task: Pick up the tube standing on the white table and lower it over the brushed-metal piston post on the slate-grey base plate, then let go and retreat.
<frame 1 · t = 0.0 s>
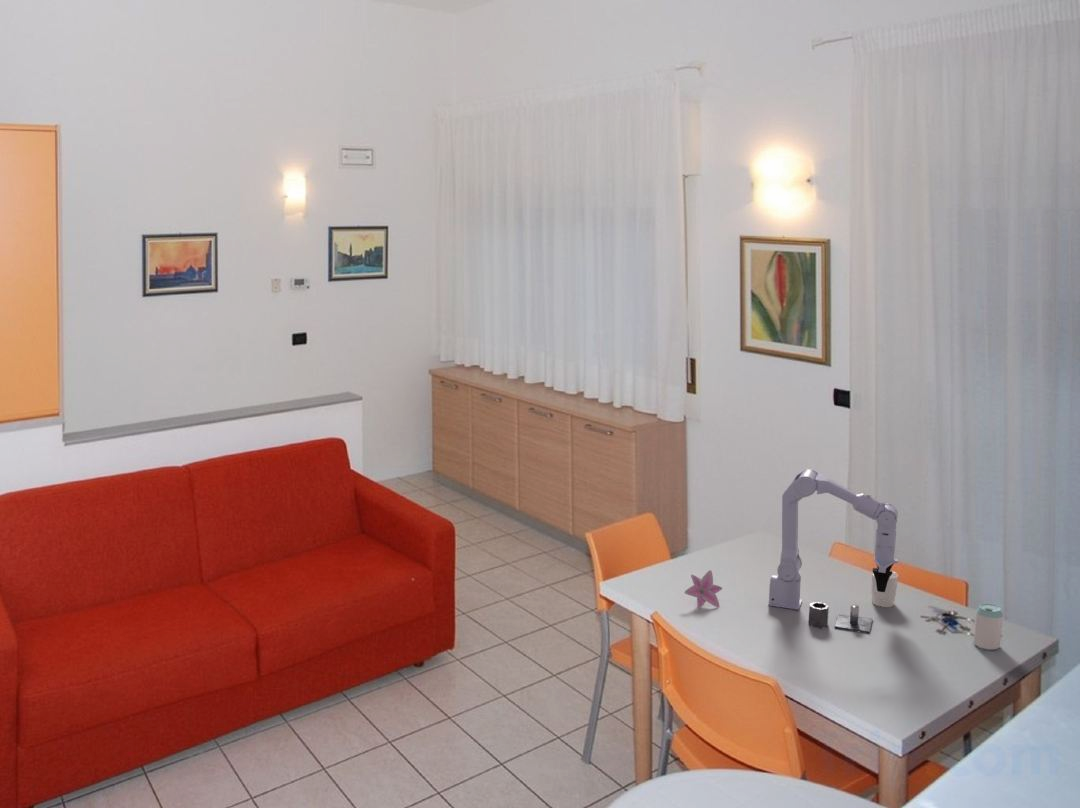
hand: (882, 586, 309), 10 cm above the table, tool pointing down, fingers open, 7 cm apart
white cup: (882, 603, 322), on the table
lily: (703, 604, 322), on the table
post: (853, 624, 306), on the table
can: (986, 646, 292), on the table
tube: (818, 624, 306), on the table
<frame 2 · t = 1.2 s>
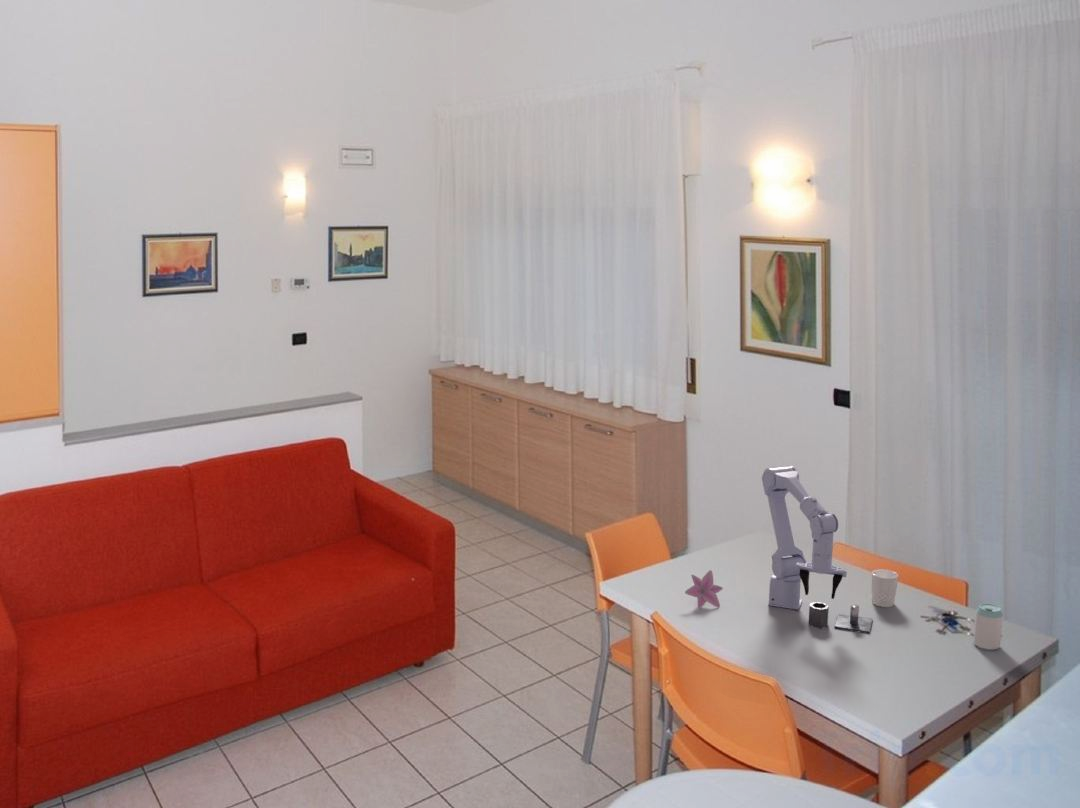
hand: (819, 595, 304), 9 cm above the table, tool pointing down, fingers open, 7 cm apart
nothing on the table moved.
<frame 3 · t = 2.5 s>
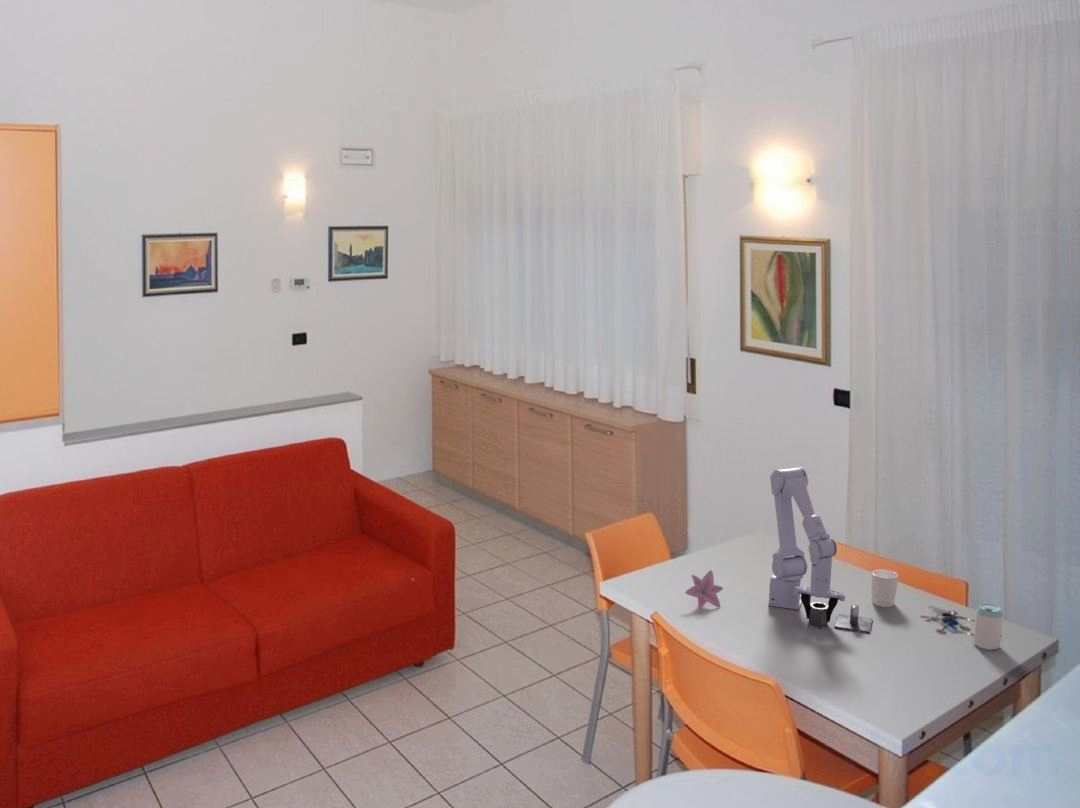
hand: (818, 619, 306), 2 cm above the table, tool pointing down, fingers closed on tube, 5 cm apart
tube: (818, 624, 306), on the table, touching gripper
everything else where it was.
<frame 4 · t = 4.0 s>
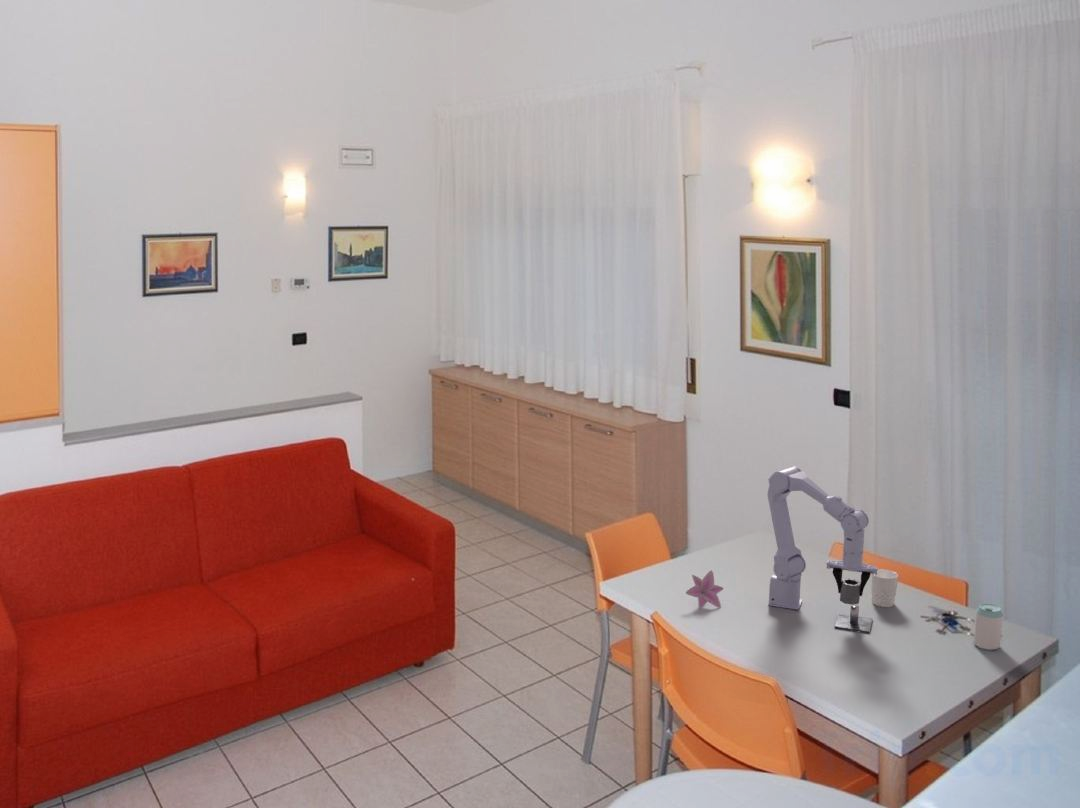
hand: (850, 593, 304), 10 cm above the table, tool pointing down, fingers closed on tube, 5 cm apart
tube: (849, 600, 304), point 8 cm above the table, touching gripper
everything else where it was.
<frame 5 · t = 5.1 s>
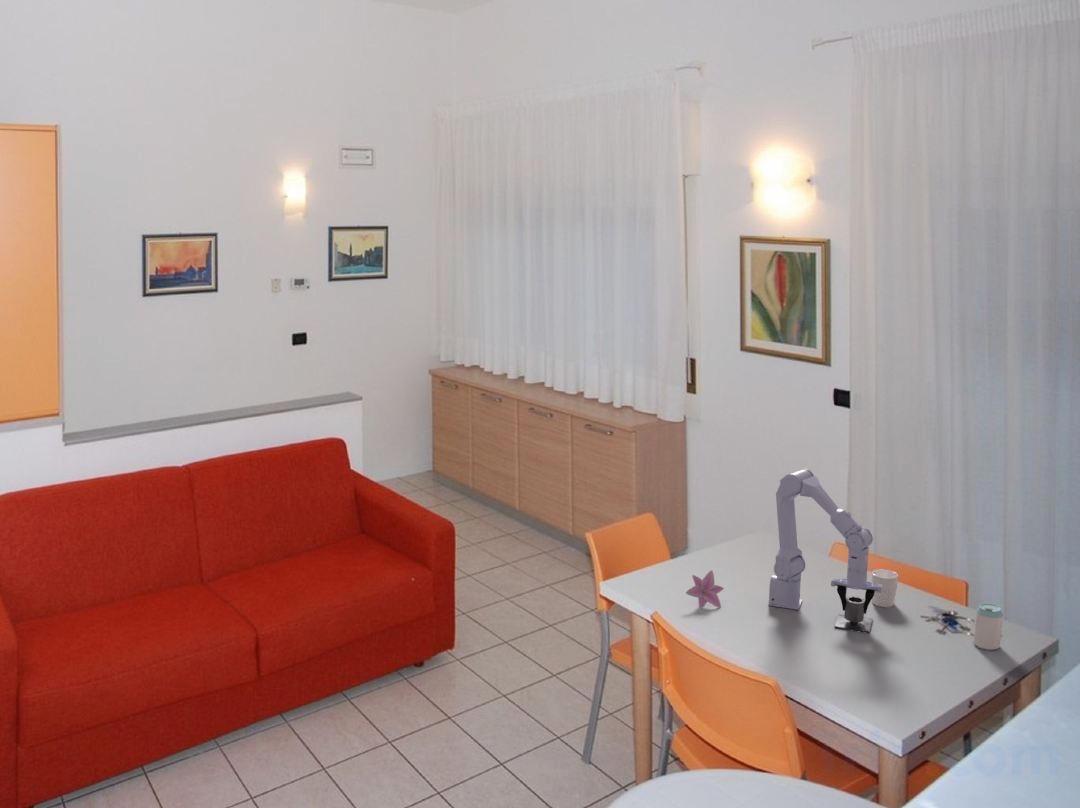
hand: (854, 610, 305), 4 cm above the table, tool pointing down, fingers closed on tube, 5 cm apart
tube: (853, 618, 306), point 2 cm above the table, touching gripper
everything else where it was.
when the fingers open (3 cm above the table, at t = 5.9 s): tube stays where it is, resting on post.
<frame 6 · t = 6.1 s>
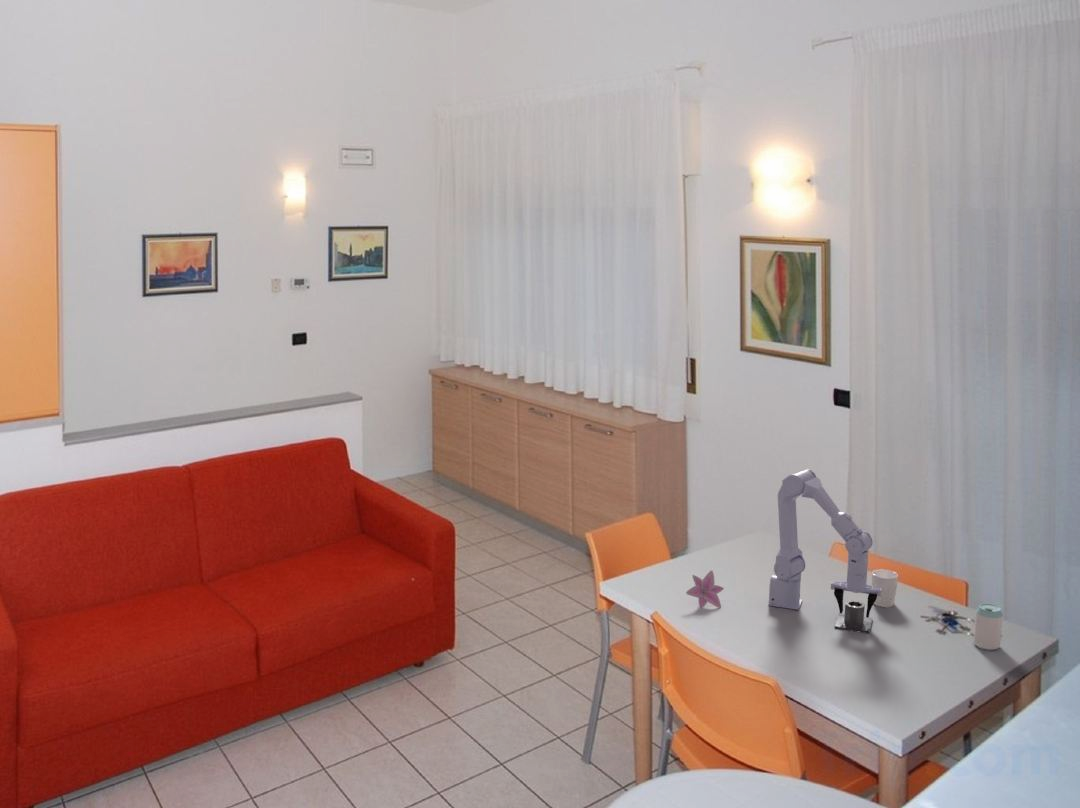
hand: (854, 614, 306), 3 cm above the table, tool pointing down, fingers open, 7 cm apart
tube: (853, 622, 306), point 1 cm above the table, touching post
everything else where it was.
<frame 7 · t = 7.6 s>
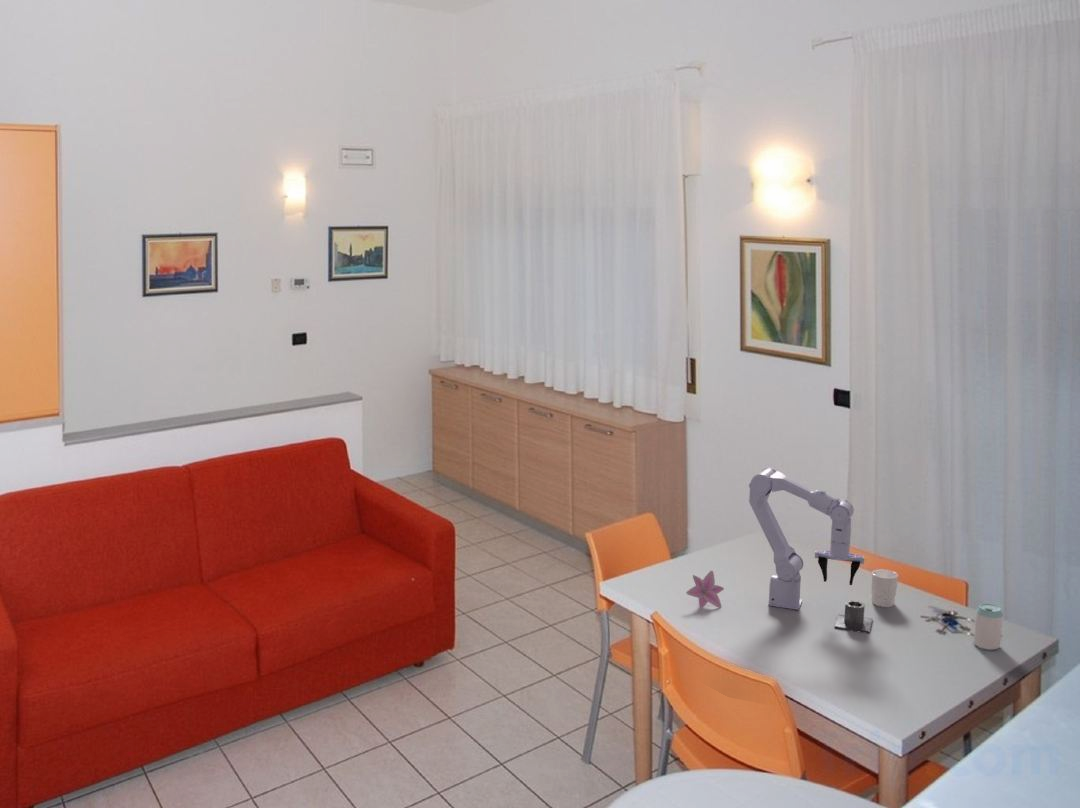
hand: (838, 582, 312), 10 cm above the table, tool pointing down, fingers open, 7 cm apart
nothing on the table moved.
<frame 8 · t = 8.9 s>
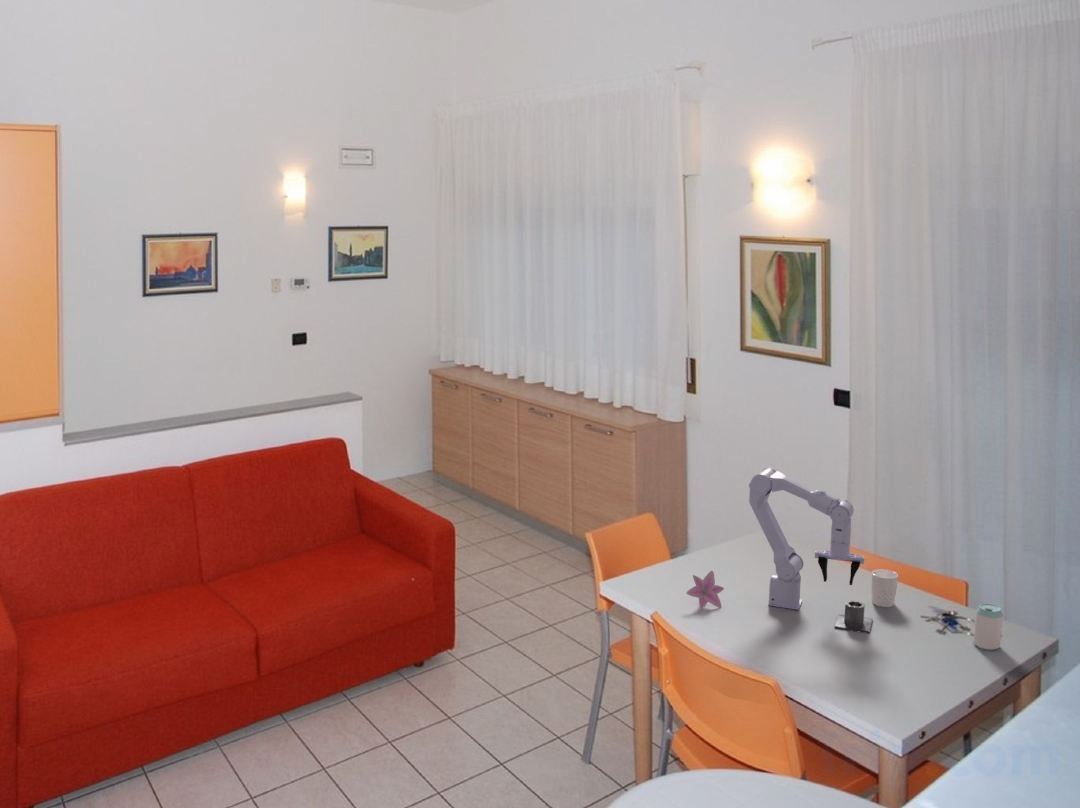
hand: (838, 582, 312), 10 cm above the table, tool pointing down, fingers open, 7 cm apart
nothing on the table moved.
at the end: tube 0.2 cm off-centre on the post, point 0.6 cm above the post's base; tube tilted 0°; the gripper is holding nothing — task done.
